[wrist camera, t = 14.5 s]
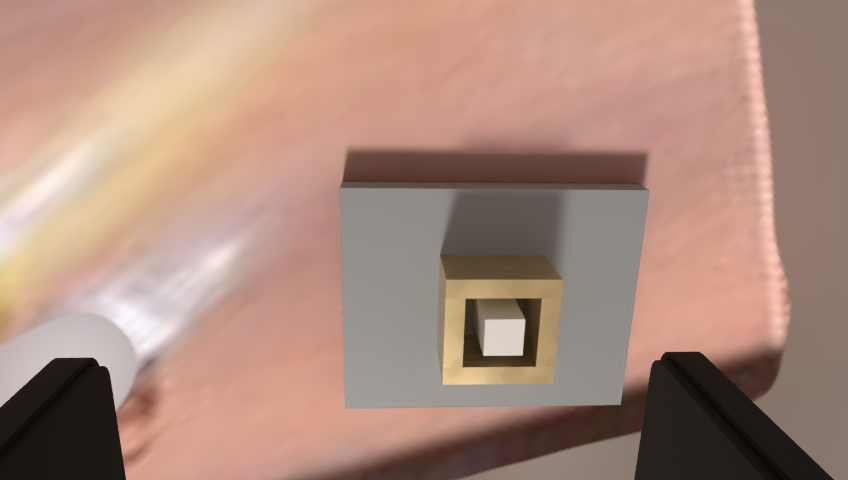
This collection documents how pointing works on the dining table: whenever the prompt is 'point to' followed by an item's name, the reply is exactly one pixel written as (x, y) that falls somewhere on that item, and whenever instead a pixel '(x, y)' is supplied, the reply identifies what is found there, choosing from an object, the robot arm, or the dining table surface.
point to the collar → (498, 280)
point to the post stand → (485, 317)
